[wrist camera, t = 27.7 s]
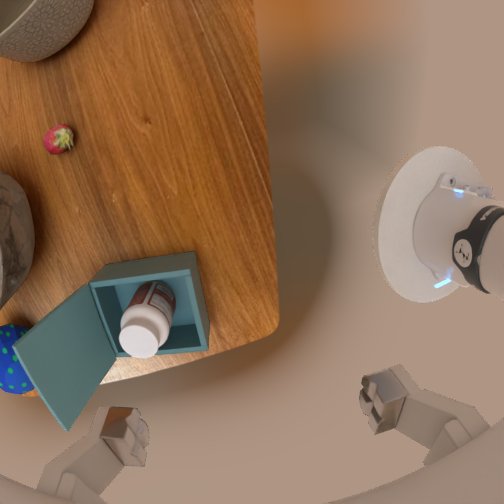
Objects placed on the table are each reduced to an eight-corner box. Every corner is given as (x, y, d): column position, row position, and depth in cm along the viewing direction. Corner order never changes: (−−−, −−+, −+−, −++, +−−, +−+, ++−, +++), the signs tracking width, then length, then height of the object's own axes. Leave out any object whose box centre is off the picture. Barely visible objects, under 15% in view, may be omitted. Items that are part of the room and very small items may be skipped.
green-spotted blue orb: (-38, 322, 31) (-25, 372, 24) (14, 291, 41) (38, 331, 35) (-7, 372, 37) (16, 421, 31) (38, 342, 48) (68, 385, 41)
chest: (195, 250, 39) (189, 268, 33) (209, 323, 43) (208, 350, 36) (105, 264, 39) (87, 282, 32) (127, 332, 42) (115, 357, 36)
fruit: (50, 126, 31) (31, 124, 27) (82, 124, 32) (65, 121, 27) (46, 154, 33) (27, 155, 28) (78, 154, 33) (61, 154, 29)
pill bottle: (137, 315, 41) (115, 360, 30) (135, 277, 39) (109, 316, 28) (177, 319, 41) (165, 367, 31) (177, 281, 40) (163, 323, 29)
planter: (86, 65, 29) (28, 31, 15) (8, 76, 27) (-51, 62, 12) (120, -23, 25) (88, -75, 10) (39, -6, 22) (-4, -38, 8)
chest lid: (15, 347, 18) (11, 346, 18) (68, 431, 22) (64, 430, 22) (88, 283, 32) (84, 284, 32) (116, 359, 35) (112, 358, 35)
